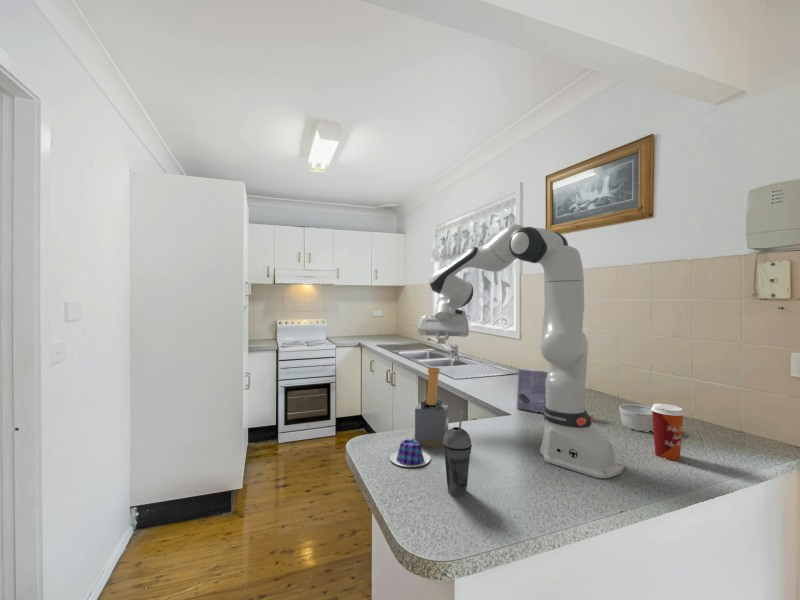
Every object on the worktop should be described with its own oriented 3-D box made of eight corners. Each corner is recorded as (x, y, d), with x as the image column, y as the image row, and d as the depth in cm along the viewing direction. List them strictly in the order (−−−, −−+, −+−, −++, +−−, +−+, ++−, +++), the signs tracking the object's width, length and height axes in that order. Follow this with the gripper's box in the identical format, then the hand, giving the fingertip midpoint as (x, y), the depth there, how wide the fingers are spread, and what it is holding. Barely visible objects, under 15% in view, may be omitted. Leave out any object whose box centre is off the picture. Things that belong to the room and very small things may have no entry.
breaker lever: (426, 407, 120) (429, 369, 126) (436, 408, 119) (439, 369, 125) (424, 406, 118) (428, 367, 124) (435, 407, 117) (438, 367, 123)
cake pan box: (566, 414, 150) (566, 371, 150) (564, 417, 146) (564, 373, 146) (519, 406, 160) (519, 367, 160) (516, 409, 156) (516, 368, 156)
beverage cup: (439, 484, 92) (439, 406, 92) (467, 483, 93) (467, 405, 93) (445, 499, 85) (445, 415, 85) (475, 498, 86) (475, 414, 86)
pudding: (435, 455, 110) (435, 438, 110) (422, 472, 99) (422, 453, 99) (399, 449, 115) (399, 432, 115) (383, 464, 104) (383, 446, 104)
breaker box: (417, 435, 126) (417, 395, 126) (451, 438, 123) (451, 397, 123) (411, 443, 118) (411, 401, 118) (448, 447, 115) (448, 404, 115)
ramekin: (622, 431, 131) (622, 411, 131) (616, 419, 143) (616, 402, 143) (666, 436, 126) (666, 416, 126) (656, 424, 138) (656, 406, 138)
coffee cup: (675, 464, 104) (675, 412, 104) (645, 453, 111) (645, 405, 111) (690, 458, 108) (690, 408, 108) (660, 448, 115) (660, 401, 115)
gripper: (419, 310, 149) (413, 336, 139) (469, 311, 143) (467, 338, 134) (421, 321, 153) (416, 346, 144) (470, 322, 148) (468, 348, 138)
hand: (441, 342), depth 139 cm, fingers closed
